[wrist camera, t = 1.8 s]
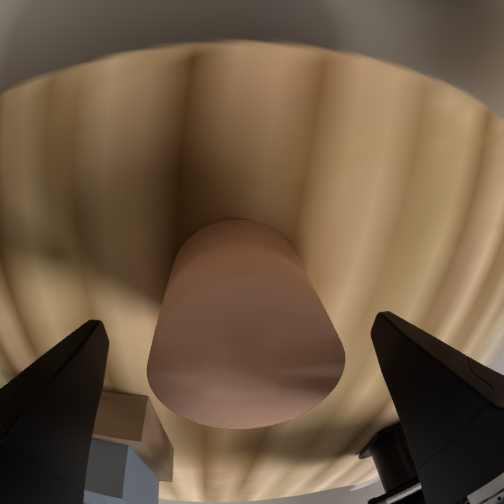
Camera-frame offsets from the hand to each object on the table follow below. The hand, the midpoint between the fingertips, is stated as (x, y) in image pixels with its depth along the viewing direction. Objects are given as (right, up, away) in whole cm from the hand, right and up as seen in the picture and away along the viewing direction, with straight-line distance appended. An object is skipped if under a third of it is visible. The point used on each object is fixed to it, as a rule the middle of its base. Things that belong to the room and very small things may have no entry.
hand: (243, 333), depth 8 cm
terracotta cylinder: (0, +1, +3) cm, 3 cm away
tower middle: (-10, -11, +4) cm, 15 cm away
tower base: (-10, -9, +7) cm, 15 cm away
